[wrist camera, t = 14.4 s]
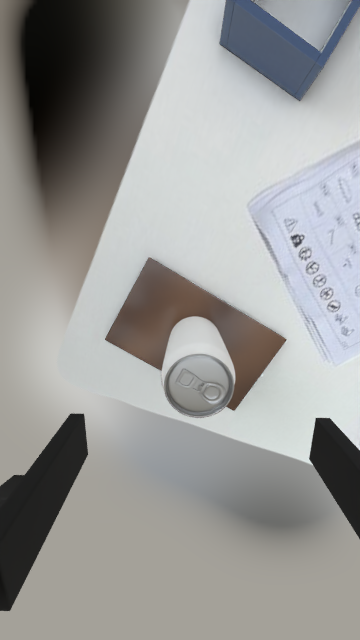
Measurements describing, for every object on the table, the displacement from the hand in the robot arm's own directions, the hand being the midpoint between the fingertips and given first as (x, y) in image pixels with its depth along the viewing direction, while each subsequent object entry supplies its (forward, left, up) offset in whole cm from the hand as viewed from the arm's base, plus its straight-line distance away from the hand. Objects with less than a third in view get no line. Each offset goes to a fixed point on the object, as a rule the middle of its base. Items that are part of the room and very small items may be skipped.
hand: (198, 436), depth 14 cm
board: (0, 0, -19) cm, 19 cm away
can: (0, 0, -18) cm, 18 cm away
